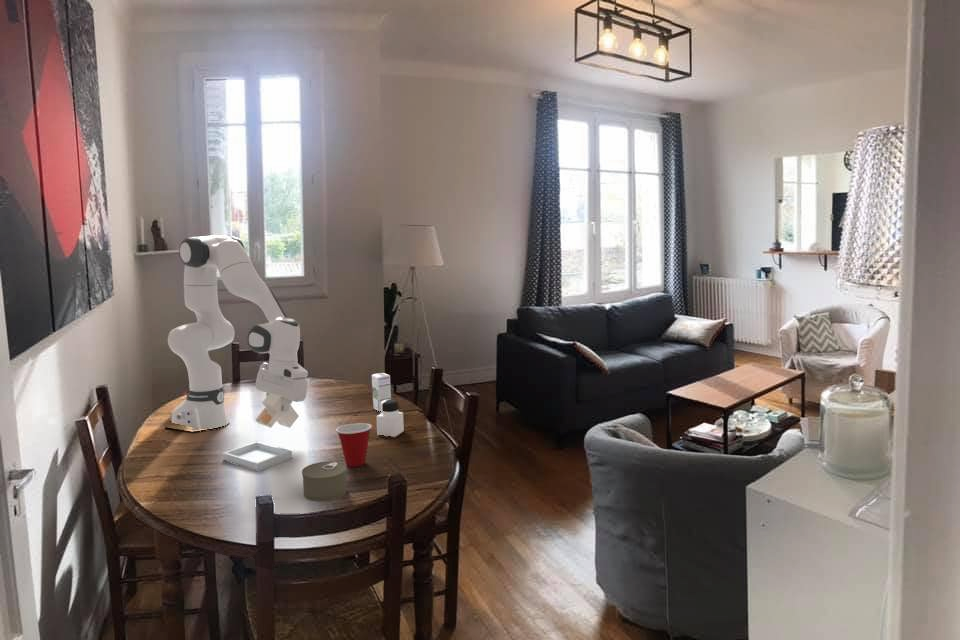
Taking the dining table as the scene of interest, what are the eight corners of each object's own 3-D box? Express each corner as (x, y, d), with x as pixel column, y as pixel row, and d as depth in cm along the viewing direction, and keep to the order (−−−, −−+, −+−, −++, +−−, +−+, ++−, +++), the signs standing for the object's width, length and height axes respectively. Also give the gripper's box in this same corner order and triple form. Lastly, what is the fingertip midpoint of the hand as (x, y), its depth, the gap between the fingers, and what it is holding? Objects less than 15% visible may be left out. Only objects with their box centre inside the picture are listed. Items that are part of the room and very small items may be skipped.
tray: (223, 460, 203) (222, 453, 203) (257, 448, 214) (257, 441, 214) (257, 471, 194) (257, 463, 194) (292, 458, 205) (291, 450, 204)
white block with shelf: (287, 412, 219) (270, 390, 211) (300, 416, 216) (283, 394, 208) (268, 435, 213) (250, 414, 205) (281, 440, 210) (263, 419, 202)
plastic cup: (360, 454, 207) (358, 418, 205) (379, 463, 200) (378, 426, 198) (330, 463, 200) (328, 426, 198) (350, 473, 192) (348, 434, 190)
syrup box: (392, 410, 257) (391, 374, 255) (378, 412, 254) (377, 376, 252) (385, 407, 262) (384, 372, 259) (372, 409, 258) (371, 374, 256)
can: (293, 498, 175) (292, 474, 174) (319, 482, 186) (318, 459, 185) (331, 504, 171) (330, 480, 170) (355, 487, 182) (354, 464, 181)
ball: (267, 423, 208) (264, 427, 205) (260, 416, 207) (257, 419, 204) (274, 417, 207) (271, 420, 204) (267, 410, 207) (264, 413, 204)
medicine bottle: (404, 431, 231) (403, 398, 229) (395, 437, 224) (394, 404, 222) (386, 429, 233) (385, 397, 231) (376, 435, 226) (375, 402, 224)
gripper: (253, 362, 212) (248, 402, 213) (297, 374, 202) (292, 417, 203) (268, 360, 217) (263, 400, 219) (311, 373, 207) (307, 414, 209)
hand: (278, 409), depth 211 cm, fingers closed on white block with shelf, 5 cm apart
